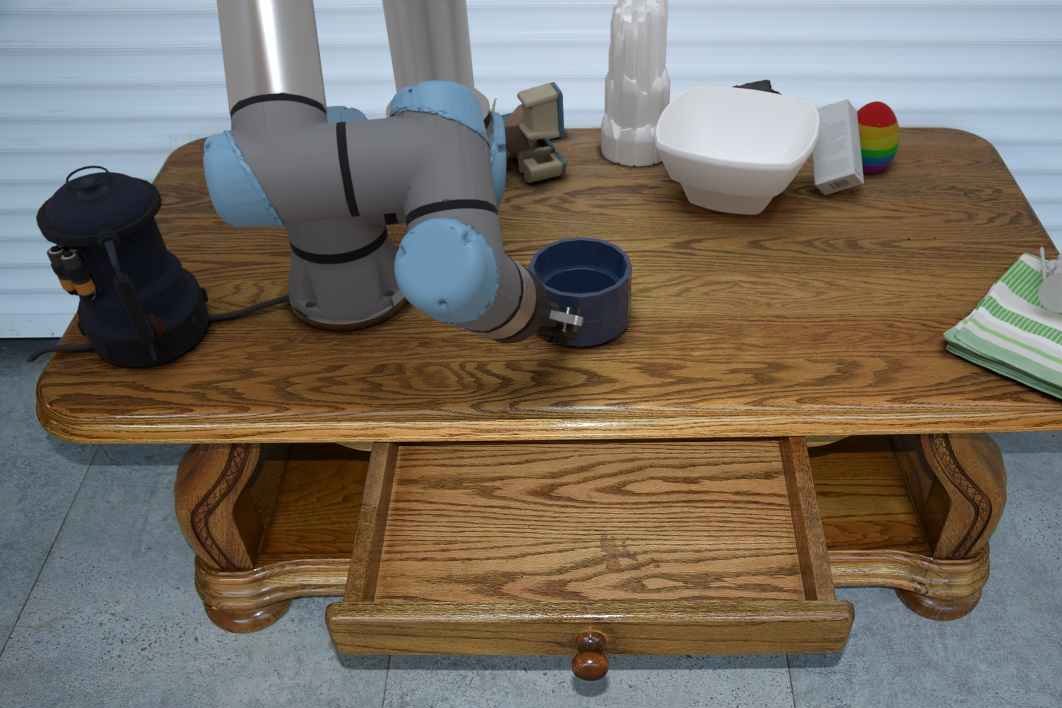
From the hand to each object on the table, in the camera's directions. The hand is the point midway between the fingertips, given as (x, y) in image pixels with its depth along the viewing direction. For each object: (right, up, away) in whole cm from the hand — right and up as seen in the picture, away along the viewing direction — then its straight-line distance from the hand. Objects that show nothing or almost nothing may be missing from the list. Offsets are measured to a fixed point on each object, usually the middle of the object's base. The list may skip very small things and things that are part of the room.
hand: (562, 332), depth 109 cm
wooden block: (-8, +30, +28) cm, 42 cm away
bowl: (+23, +22, +28) cm, 43 cm away
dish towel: (+59, 0, +5) cm, 59 cm away
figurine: (+59, +5, +2) cm, 59 cm away
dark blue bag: (-54, +13, +3) cm, 55 cm away
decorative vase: (+10, +31, +39) cm, 51 cm away
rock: (+29, +44, +45) cm, 69 cm away
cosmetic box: (+39, +23, +26) cm, 52 cm away
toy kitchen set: (-9, +34, +31) cm, 47 cm away
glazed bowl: (+2, +2, +8) cm, 8 cm away
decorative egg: (+45, +28, +35) cm, 63 cm away
